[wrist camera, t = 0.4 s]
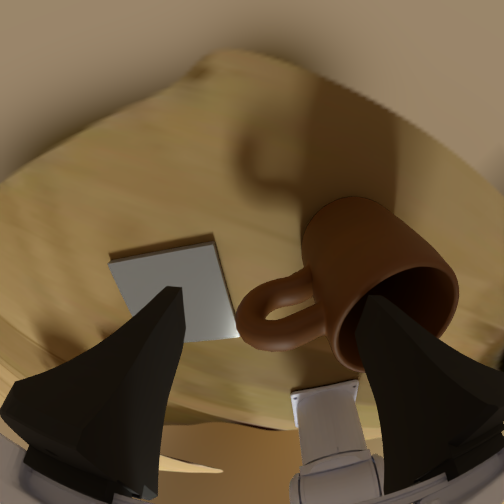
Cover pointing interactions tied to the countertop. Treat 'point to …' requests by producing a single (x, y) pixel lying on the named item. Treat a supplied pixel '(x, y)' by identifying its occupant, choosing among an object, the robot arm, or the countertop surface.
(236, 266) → the countertop surface
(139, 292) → the slate coaster
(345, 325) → the mug
